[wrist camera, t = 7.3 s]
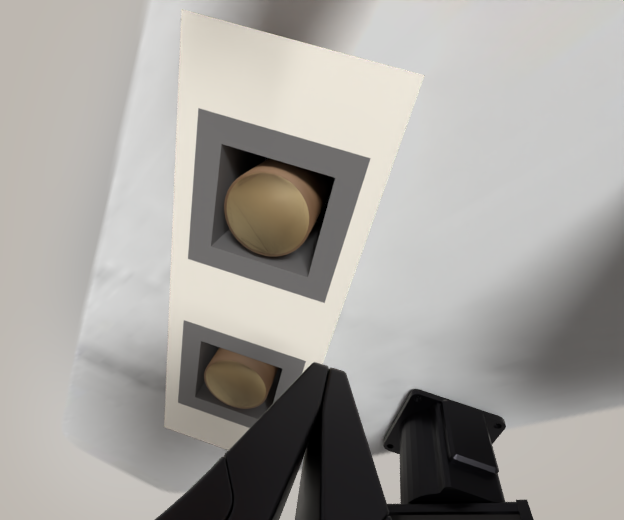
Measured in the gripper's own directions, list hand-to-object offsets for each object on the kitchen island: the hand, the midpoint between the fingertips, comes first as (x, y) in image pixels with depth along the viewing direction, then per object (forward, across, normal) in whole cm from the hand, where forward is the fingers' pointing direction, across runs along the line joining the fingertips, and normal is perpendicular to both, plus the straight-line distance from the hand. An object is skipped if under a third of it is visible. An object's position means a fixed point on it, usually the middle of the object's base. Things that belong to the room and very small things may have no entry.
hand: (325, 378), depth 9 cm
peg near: (+12, +4, -1) cm, 13 cm away
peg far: (+12, +4, +9) cm, 16 cm away
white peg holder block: (+12, +4, +4) cm, 13 cm away
